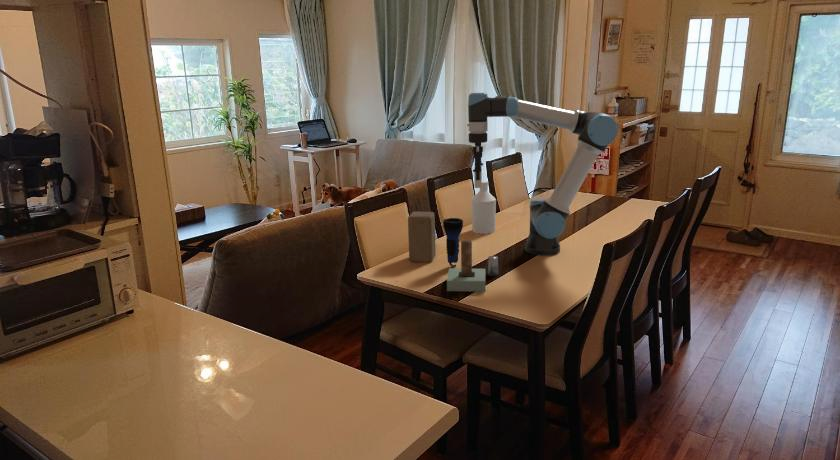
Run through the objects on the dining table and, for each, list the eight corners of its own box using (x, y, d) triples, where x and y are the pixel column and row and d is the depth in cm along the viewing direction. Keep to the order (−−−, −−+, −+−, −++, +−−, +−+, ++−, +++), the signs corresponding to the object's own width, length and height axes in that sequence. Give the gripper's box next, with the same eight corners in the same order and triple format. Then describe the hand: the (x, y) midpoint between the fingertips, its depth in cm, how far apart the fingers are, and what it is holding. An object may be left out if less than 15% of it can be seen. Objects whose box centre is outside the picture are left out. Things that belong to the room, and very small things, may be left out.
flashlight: (460, 271, 239) (459, 223, 234) (441, 269, 242) (440, 222, 236) (465, 265, 246) (465, 218, 241) (447, 263, 249) (446, 217, 244)
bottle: (479, 226, 305) (479, 178, 299) (500, 229, 298) (500, 180, 292) (467, 232, 296) (467, 182, 289) (488, 235, 289) (488, 184, 283)
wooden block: (431, 263, 250) (430, 217, 245) (408, 262, 252) (407, 216, 247) (436, 255, 260) (435, 211, 254) (413, 255, 262) (412, 211, 256)
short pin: (498, 272, 236) (498, 255, 234) (498, 276, 232) (498, 259, 230) (488, 272, 236) (488, 255, 235) (488, 275, 233) (488, 259, 231)
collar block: (485, 278, 230) (485, 268, 229) (485, 291, 216) (485, 281, 215) (449, 278, 231) (449, 268, 230) (447, 291, 218) (446, 280, 217)
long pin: (472, 282, 226) (471, 239, 221) (471, 286, 222) (471, 243, 217) (461, 282, 226) (461, 239, 222) (461, 286, 222) (460, 242, 218)
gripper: (469, 129, 250) (469, 179, 255) (467, 135, 226) (468, 190, 231) (487, 129, 249) (487, 179, 254) (487, 135, 225) (487, 190, 230)
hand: (478, 184), depth 243 cm, fingers open, 13 cm apart
